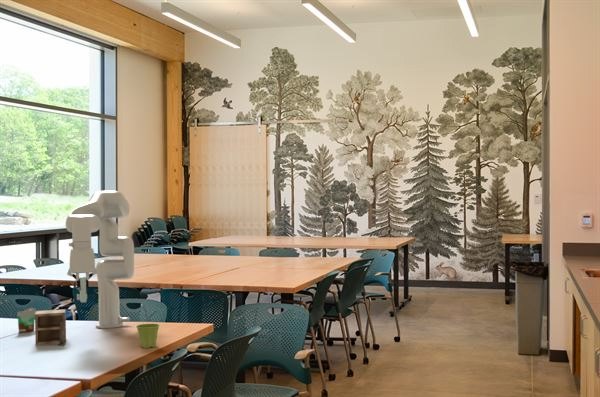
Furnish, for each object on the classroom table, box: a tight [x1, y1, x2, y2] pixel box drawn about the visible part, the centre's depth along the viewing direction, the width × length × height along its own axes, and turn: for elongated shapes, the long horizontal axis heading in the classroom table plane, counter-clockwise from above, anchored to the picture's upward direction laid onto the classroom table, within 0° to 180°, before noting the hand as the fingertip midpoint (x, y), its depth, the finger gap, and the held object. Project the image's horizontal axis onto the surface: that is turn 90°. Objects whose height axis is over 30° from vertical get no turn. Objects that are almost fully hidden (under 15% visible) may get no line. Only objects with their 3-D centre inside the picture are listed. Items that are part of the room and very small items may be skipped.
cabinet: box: [34, 309, 67, 347], centre depth 327 cm, size 12×14×13 cm
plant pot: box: [135, 323, 160, 349], centre depth 317 cm, size 9×9×9 cm
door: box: [76, 276, 88, 303], centre depth 324 cm, size 15×4×10 cm, turn 19°
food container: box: [16, 307, 37, 334], centre depth 357 cm, size 12×6×10 cm, turn 179°
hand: (82, 289), depth 323 cm, fingers closed on door, 2 cm apart
